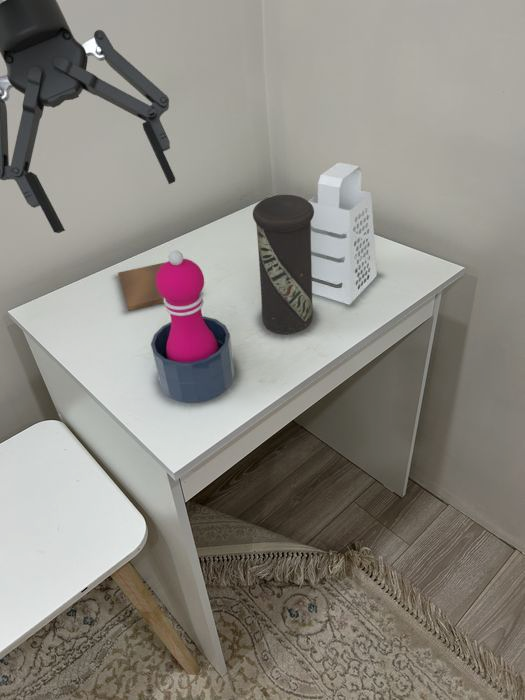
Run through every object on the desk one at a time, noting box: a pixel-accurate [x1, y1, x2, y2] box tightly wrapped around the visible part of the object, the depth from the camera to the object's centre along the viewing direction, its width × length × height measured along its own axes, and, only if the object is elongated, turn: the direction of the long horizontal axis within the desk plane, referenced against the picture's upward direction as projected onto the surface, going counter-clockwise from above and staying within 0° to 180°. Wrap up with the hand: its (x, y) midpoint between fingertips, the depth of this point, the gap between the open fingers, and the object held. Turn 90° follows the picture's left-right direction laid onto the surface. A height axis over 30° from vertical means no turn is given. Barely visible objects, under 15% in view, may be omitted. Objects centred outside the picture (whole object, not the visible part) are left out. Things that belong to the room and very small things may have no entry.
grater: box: [307, 162, 378, 305], centre depth 90 cm, size 10×10×20 cm
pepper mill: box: [156, 250, 219, 362], centre depth 72 cm, size 7×7×20 cm
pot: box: [150, 315, 235, 404], centre depth 76 cm, size 11×11×7 cm
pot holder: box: [117, 261, 167, 312], centre depth 98 cm, size 12×12×1 cm
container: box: [252, 194, 314, 335], centre depth 82 cm, size 9×9×20 cm
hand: (116, 206), depth 61 cm, fingers open, 13 cm apart
